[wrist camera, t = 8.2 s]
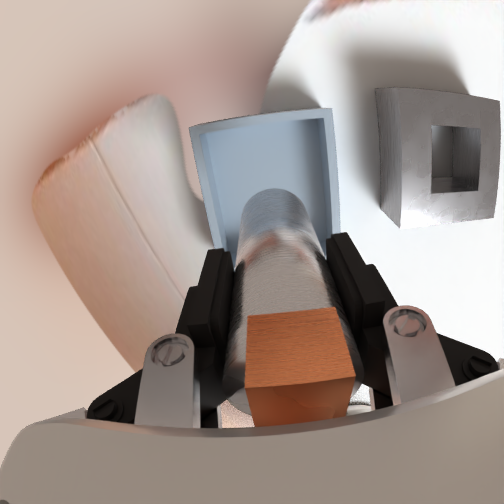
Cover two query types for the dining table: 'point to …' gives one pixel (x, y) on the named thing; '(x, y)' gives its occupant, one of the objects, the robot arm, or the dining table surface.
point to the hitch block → (420, 156)
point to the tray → (267, 168)
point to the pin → (286, 320)
